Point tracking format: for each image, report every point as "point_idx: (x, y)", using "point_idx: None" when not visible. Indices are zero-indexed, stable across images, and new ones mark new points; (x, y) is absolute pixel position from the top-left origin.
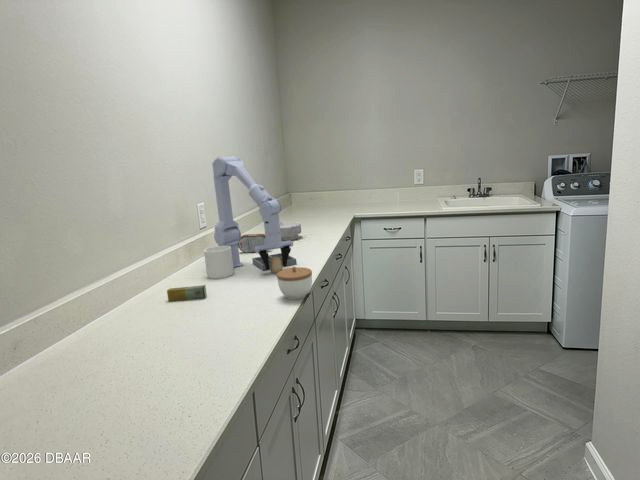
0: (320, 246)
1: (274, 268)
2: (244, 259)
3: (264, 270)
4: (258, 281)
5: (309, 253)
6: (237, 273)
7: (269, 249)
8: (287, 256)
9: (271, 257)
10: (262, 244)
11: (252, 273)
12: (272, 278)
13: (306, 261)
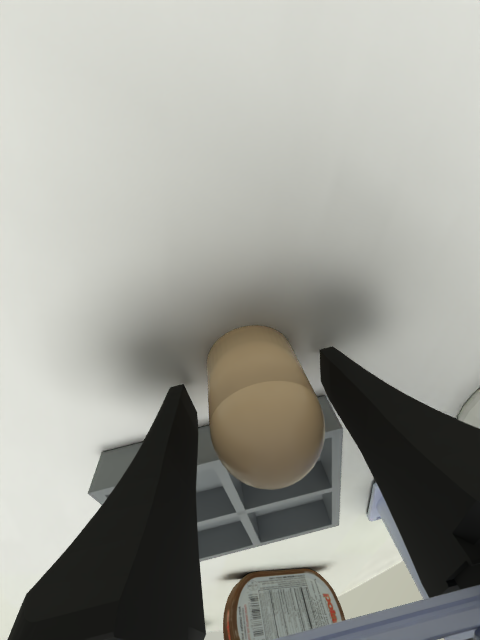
0: (11, 609)
1: (280, 352)
2: (335, 530)
3: (318, 398)
4: (475, 136)
5: (48, 562)
6: (454, 396)
7: (417, 615)
8: (129, 477)
9: (249, 526)
10: (258, 616)
11: (395, 372)
12: (330, 175)
13: (37, 483)
